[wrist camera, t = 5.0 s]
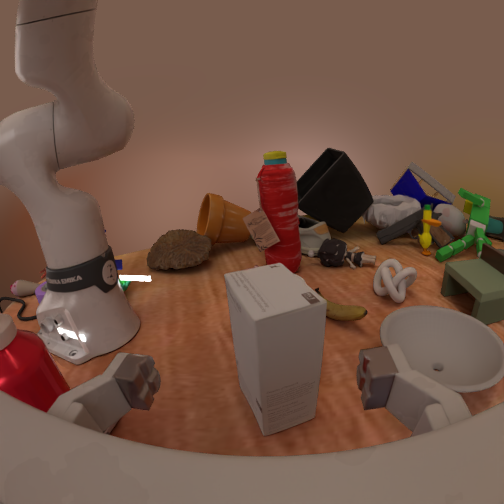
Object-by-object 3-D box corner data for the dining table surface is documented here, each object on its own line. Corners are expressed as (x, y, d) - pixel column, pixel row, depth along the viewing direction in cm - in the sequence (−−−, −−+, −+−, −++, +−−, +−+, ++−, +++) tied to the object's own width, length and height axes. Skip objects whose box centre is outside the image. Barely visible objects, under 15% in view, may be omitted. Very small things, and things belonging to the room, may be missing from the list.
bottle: (95, 478, 17) (-29, 302, 10) (143, 469, 19) (34, 283, 12) (105, 522, 12) (-64, 347, 5) (159, 514, 14) (6, 330, 8)
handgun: (393, 274, 66) (374, 231, 69) (394, 273, 68) (376, 232, 71) (456, 241, 56) (436, 198, 59) (455, 242, 58) (435, 200, 61)
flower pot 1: (247, 195, 83) (205, 186, 79) (262, 212, 72) (212, 202, 67) (234, 237, 89) (194, 231, 84) (246, 260, 77) (199, 254, 72)
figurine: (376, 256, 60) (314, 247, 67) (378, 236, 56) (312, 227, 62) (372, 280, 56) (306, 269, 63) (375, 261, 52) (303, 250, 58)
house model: (457, 197, 67) (449, 214, 67) (432, 214, 87) (424, 229, 87) (410, 160, 71) (401, 176, 71) (392, 183, 91) (384, 197, 91)
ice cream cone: (54, 281, 65) (15, 282, 60) (48, 276, 60) (7, 277, 56) (54, 298, 63) (14, 298, 58) (48, 294, 59) (6, 294, 54)
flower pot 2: (363, 181, 84) (326, 146, 80) (387, 195, 67) (344, 150, 63) (326, 223, 91) (287, 191, 87) (340, 246, 73) (294, 206, 69)
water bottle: (265, 287, 54) (251, 153, 46) (245, 275, 61) (231, 155, 52) (313, 270, 59) (306, 149, 51) (290, 260, 66) (281, 150, 58)
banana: (368, 330, 37) (371, 306, 36) (358, 337, 36) (361, 313, 35) (321, 305, 45) (321, 284, 44) (310, 311, 44) (310, 289, 43)
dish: (348, 370, 30) (352, 338, 29) (411, 322, 37) (417, 293, 35) (462, 445, 16) (484, 415, 14) (505, 368, 22) (519, 337, 20)
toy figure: (440, 256, 56) (445, 207, 52) (433, 259, 55) (438, 208, 51) (420, 248, 62) (422, 202, 58) (412, 252, 61) (415, 203, 57)
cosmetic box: (239, 388, 30) (217, 272, 25) (286, 372, 32) (279, 258, 27) (265, 441, 23) (248, 318, 18) (321, 419, 24) (329, 294, 19)
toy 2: (430, 271, 57) (452, 210, 70) (481, 293, 47) (492, 226, 61) (442, 223, 48) (459, 170, 62) (502, 246, 39) (503, 186, 52)
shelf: (472, 328, 31) (487, 274, 28) (440, 292, 42) (447, 246, 39) (511, 317, 30) (525, 267, 27) (477, 286, 41) (485, 242, 38)
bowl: (434, 232, 73) (436, 200, 69) (390, 244, 68) (391, 206, 64) (390, 218, 92) (391, 190, 88) (346, 226, 86) (345, 195, 83)
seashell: (140, 256, 74) (171, 212, 76) (165, 272, 79) (195, 230, 81) (152, 280, 58) (191, 223, 60) (184, 299, 63) (221, 246, 65)
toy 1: (431, 198, 67) (423, 231, 70) (477, 214, 55) (468, 250, 58) (441, 201, 72) (433, 231, 76) (482, 216, 61) (473, 248, 64)
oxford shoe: (265, 231, 91) (262, 205, 88) (343, 247, 69) (343, 215, 66) (238, 240, 84) (234, 212, 81) (317, 261, 63) (316, 225, 60)
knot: (411, 310, 39) (416, 278, 37) (366, 303, 44) (368, 271, 42) (414, 289, 45) (418, 260, 43) (375, 284, 50) (377, 255, 48)
